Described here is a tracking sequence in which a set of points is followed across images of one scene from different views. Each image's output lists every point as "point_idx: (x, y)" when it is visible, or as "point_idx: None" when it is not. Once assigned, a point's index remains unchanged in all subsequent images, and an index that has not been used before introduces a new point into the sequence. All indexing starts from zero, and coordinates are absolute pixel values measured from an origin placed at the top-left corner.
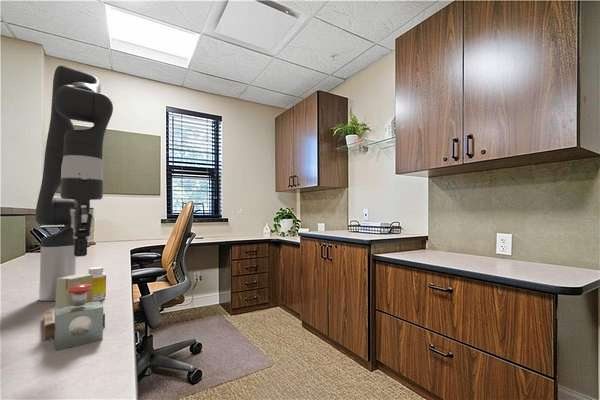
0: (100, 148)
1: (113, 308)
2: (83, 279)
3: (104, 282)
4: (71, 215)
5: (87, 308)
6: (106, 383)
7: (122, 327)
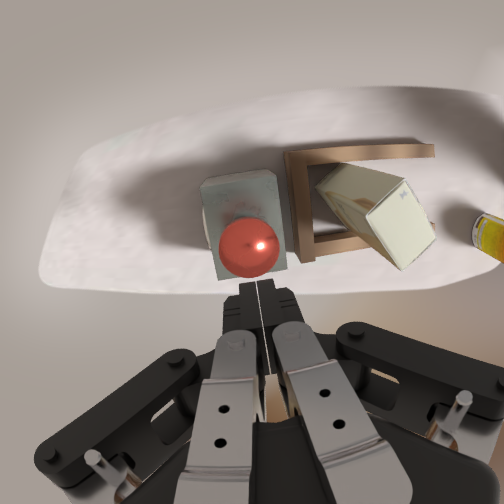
0: None
1: None
2: (382, 246)
3: (496, 258)
4: (318, 459)
5: None
6: (58, 261)
7: None
